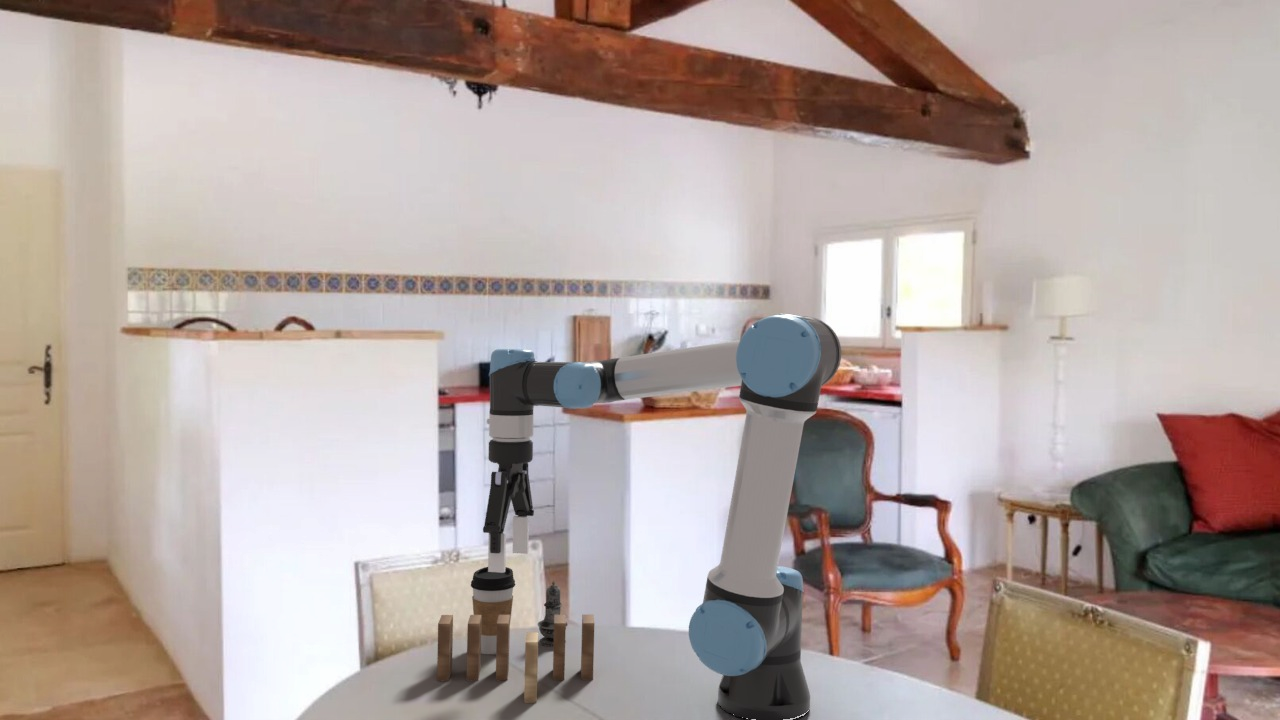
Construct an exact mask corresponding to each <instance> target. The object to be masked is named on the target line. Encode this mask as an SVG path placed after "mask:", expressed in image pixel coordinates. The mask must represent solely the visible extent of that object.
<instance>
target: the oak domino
mask: <svg viewBox="0 0 1280 720" xmlns="http://www.w3.org/2000/svg"><path fill="white" fill-rule="evenodd" d="M524 644H525V648H524V649H525V650H524V651H525V653H524V687H523V688H524V689H523V690H524V691H523V698H524V699H523V702H524V703H527V704H528V703H530V704H531V703H532V704H533V703H537V701H538V700H537V698H538V673H539V672H538V667H539V665H538V663H539V660H538V659H539V632H536V631H535V632H534V631H533V632H528V631H527V632H526V634H525V643H524Z"/></svg>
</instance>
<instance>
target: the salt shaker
mask: <svg viewBox="0 0 1280 720" xmlns="http://www.w3.org/2000/svg"><path fill="white" fill-rule="evenodd" d="M561 592H562V591H561V588H560V587H559V586H557V585H556V582H555V581H552V583H551V585H549V586H548V587H547V588H546V592H545V603H543V605H544V607H545V615H544V619H542V620H540V621H538V623H537V627H538V630H539V632H540V634H541V635H542V636H543V637H541V638H540V639H538V644H540V645H541V644H542V645H541V646H544V645H546V646H545V647H554V615H561V611H562V610H561V607H562V606H563V603H562V602H561V594H562V593H561ZM568 624H569V623H568V622H567V621H566V627H567V626H568ZM566 643H567V641H566V639H565V644H566Z"/></svg>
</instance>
